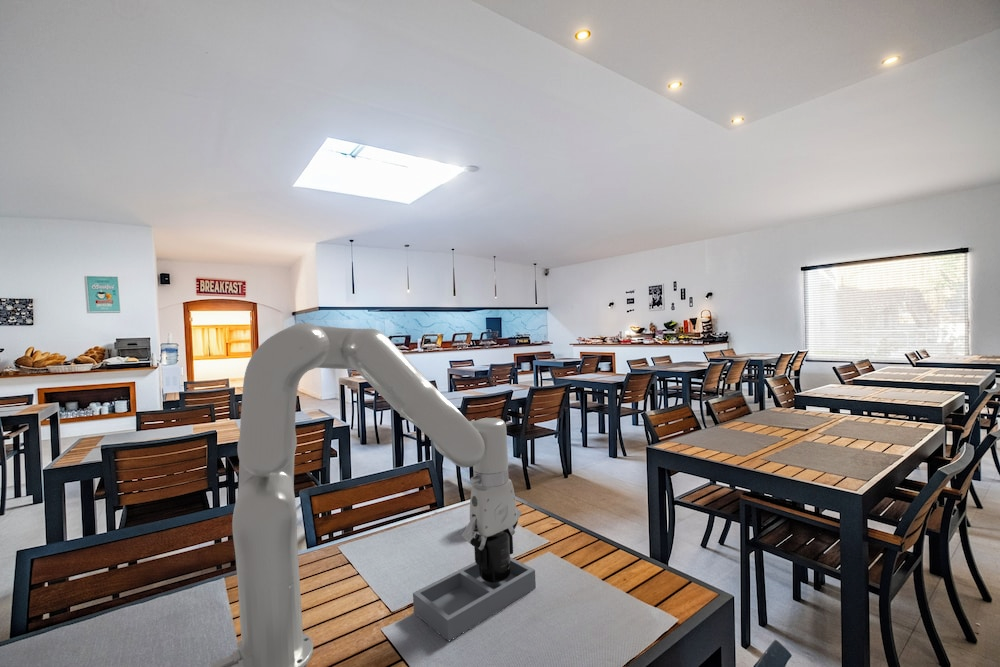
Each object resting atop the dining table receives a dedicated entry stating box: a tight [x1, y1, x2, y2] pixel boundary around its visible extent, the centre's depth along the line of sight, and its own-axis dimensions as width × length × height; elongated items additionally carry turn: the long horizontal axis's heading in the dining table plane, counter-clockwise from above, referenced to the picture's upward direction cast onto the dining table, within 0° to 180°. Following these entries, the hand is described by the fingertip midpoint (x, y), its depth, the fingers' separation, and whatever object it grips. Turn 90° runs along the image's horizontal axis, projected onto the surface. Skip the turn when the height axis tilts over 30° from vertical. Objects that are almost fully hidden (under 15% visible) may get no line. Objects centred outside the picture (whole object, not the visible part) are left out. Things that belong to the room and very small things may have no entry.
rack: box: [412, 556, 537, 642], centre depth 95 cm, size 23×12×4 cm, turn 132°
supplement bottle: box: [478, 530, 511, 583], centre depth 98 cm, size 7×7×12 cm
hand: (494, 557), depth 99 cm, fingers closed on supplement bottle, 6 cm apart
